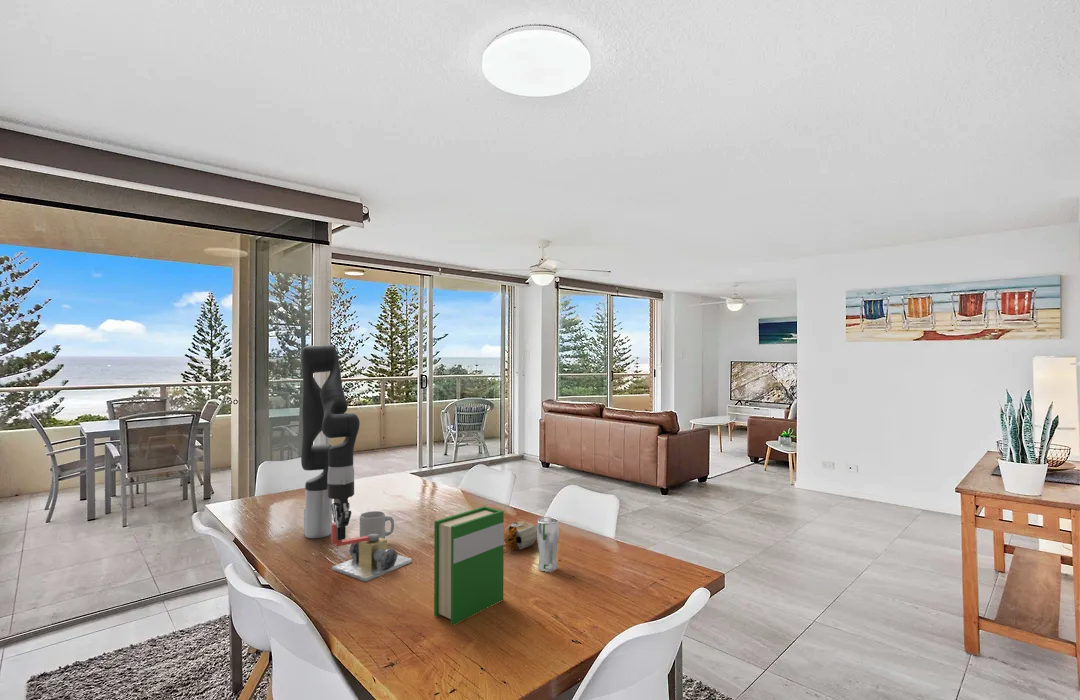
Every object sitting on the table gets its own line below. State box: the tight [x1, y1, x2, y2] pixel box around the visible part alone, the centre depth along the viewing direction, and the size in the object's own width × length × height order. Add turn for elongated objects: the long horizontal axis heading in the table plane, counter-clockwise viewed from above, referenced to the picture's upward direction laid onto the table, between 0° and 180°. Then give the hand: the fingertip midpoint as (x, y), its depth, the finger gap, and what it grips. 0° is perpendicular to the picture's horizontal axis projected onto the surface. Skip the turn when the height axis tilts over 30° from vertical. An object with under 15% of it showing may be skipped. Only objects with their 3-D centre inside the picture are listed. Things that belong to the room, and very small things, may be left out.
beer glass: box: [536, 516, 560, 573], centre depth 163 cm, size 7×7×15 cm
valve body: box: [331, 537, 413, 583], centre depth 165 cm, size 16×18×8 cm
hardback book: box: [433, 505, 505, 626], centre depth 138 cm, size 18×7×24 cm, turn 140°
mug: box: [359, 510, 395, 539], centre depth 184 cm, size 12×8×11 cm
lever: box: [330, 522, 379, 547], centre depth 163 cm, size 14×4×7 cm, turn 123°
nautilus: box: [504, 520, 537, 555], centre depth 182 cm, size 8×22×15 cm
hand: (341, 539), depth 156 cm, fingers closed
